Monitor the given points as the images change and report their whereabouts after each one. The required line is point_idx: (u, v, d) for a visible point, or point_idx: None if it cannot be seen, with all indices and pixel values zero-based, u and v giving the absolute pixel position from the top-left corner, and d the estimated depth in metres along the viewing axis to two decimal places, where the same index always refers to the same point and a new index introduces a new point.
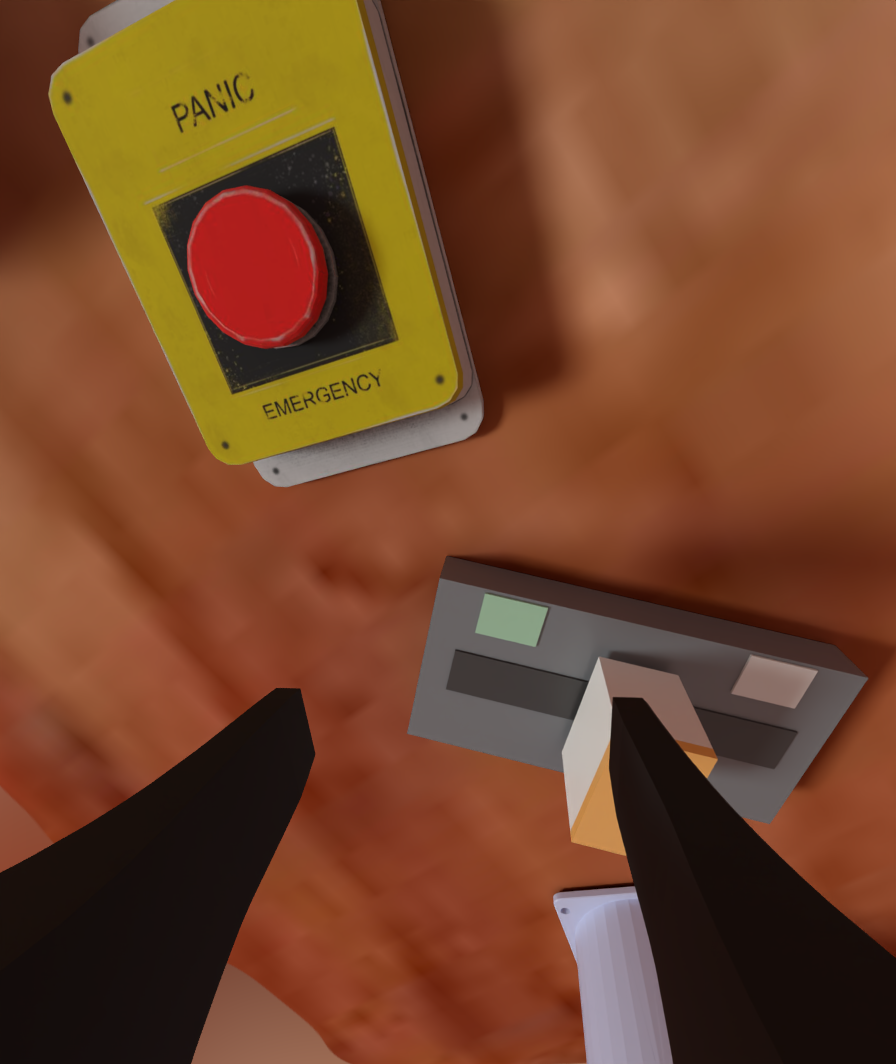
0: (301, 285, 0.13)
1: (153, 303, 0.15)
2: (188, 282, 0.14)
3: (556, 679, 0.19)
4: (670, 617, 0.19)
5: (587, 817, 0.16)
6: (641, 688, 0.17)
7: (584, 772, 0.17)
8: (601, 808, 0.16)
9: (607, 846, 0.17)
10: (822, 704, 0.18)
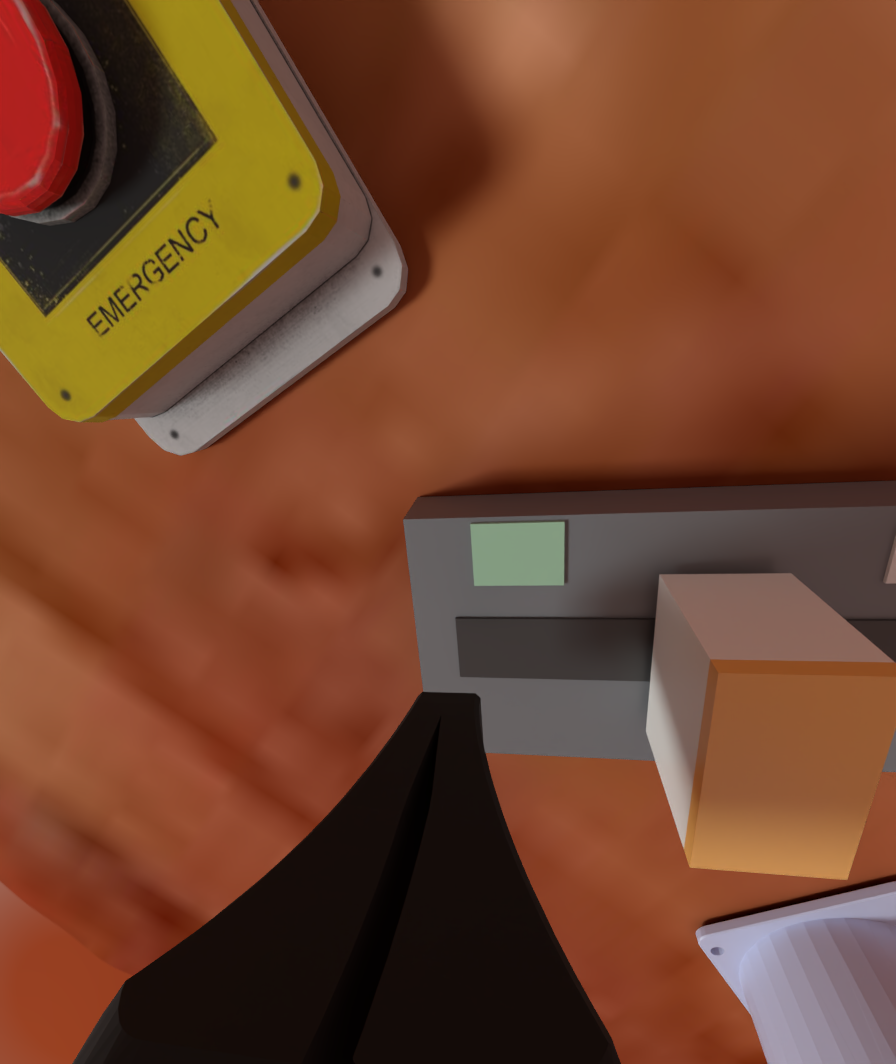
0: (30, 74, 0.08)
1: None
2: None
3: (609, 626, 0.13)
4: (754, 495, 0.13)
5: (704, 823, 0.10)
6: (737, 600, 0.11)
7: (681, 751, 0.11)
8: (723, 804, 0.10)
9: (751, 865, 0.10)
10: None
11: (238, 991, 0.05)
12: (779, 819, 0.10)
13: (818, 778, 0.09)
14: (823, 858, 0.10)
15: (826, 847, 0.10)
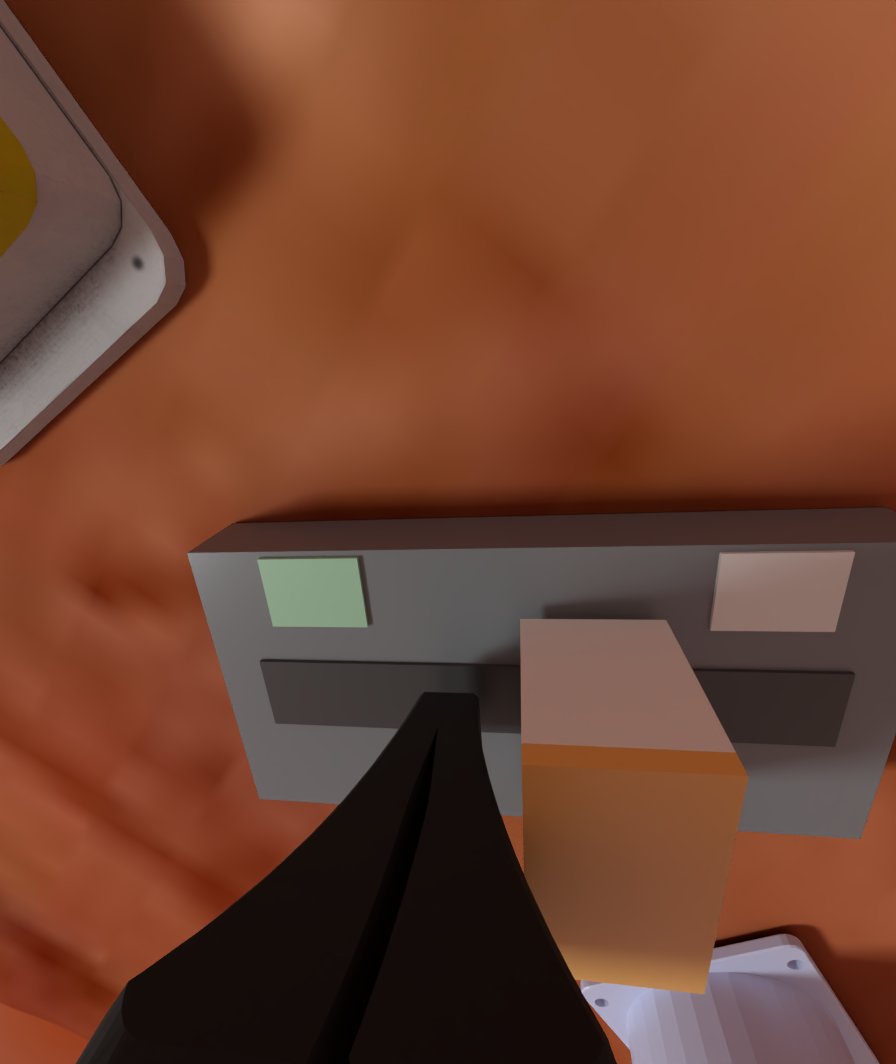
0: None
1: None
2: None
3: (424, 672, 0.12)
4: (576, 527, 0.11)
5: None
6: (590, 657, 0.09)
7: None
8: (552, 909, 0.08)
9: (594, 974, 0.08)
10: (885, 612, 0.10)
11: (240, 992, 0.05)
12: (618, 927, 0.08)
13: (655, 885, 0.07)
14: (674, 971, 0.08)
15: (675, 959, 0.08)
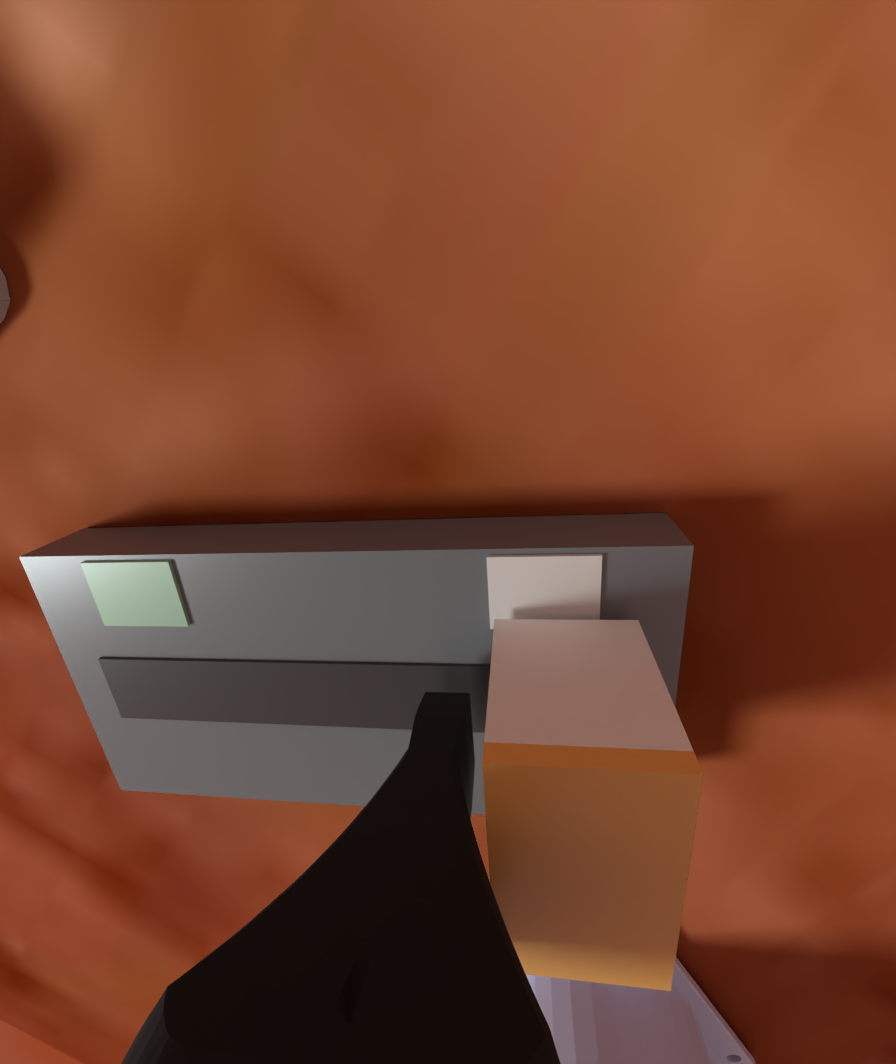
0: None
1: None
2: None
3: (247, 668, 0.13)
4: (379, 532, 0.12)
5: None
6: (560, 657, 0.09)
7: None
8: (518, 906, 0.08)
9: (562, 971, 0.09)
10: (642, 611, 0.10)
11: (282, 998, 0.05)
12: (583, 924, 0.08)
13: (618, 882, 0.08)
14: (639, 967, 0.08)
15: (641, 956, 0.08)
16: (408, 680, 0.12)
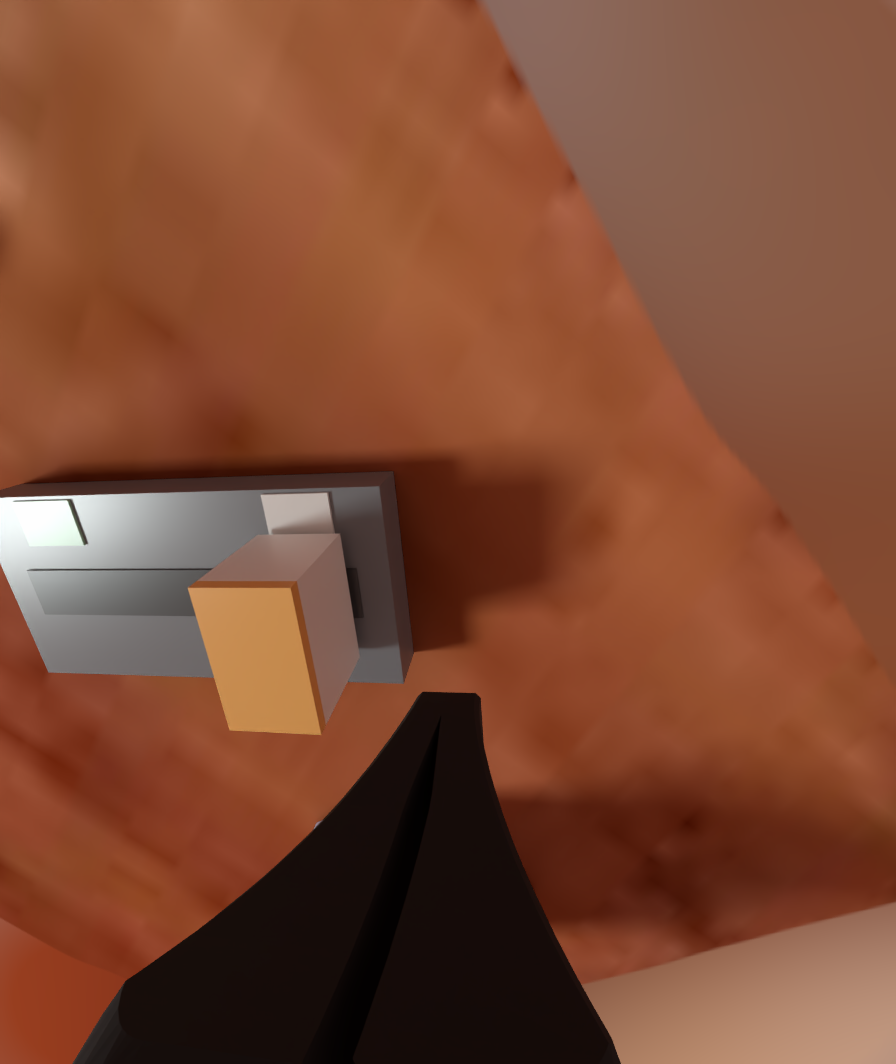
0: None
1: None
2: None
3: (125, 575, 0.19)
4: (208, 483, 0.18)
5: (223, 696, 0.15)
6: (274, 549, 0.15)
7: None
8: (229, 681, 0.14)
9: (263, 726, 0.15)
10: (359, 530, 0.17)
11: (238, 991, 0.05)
12: (264, 691, 0.14)
13: (272, 660, 0.14)
14: (300, 719, 0.15)
15: (299, 710, 0.14)
16: None
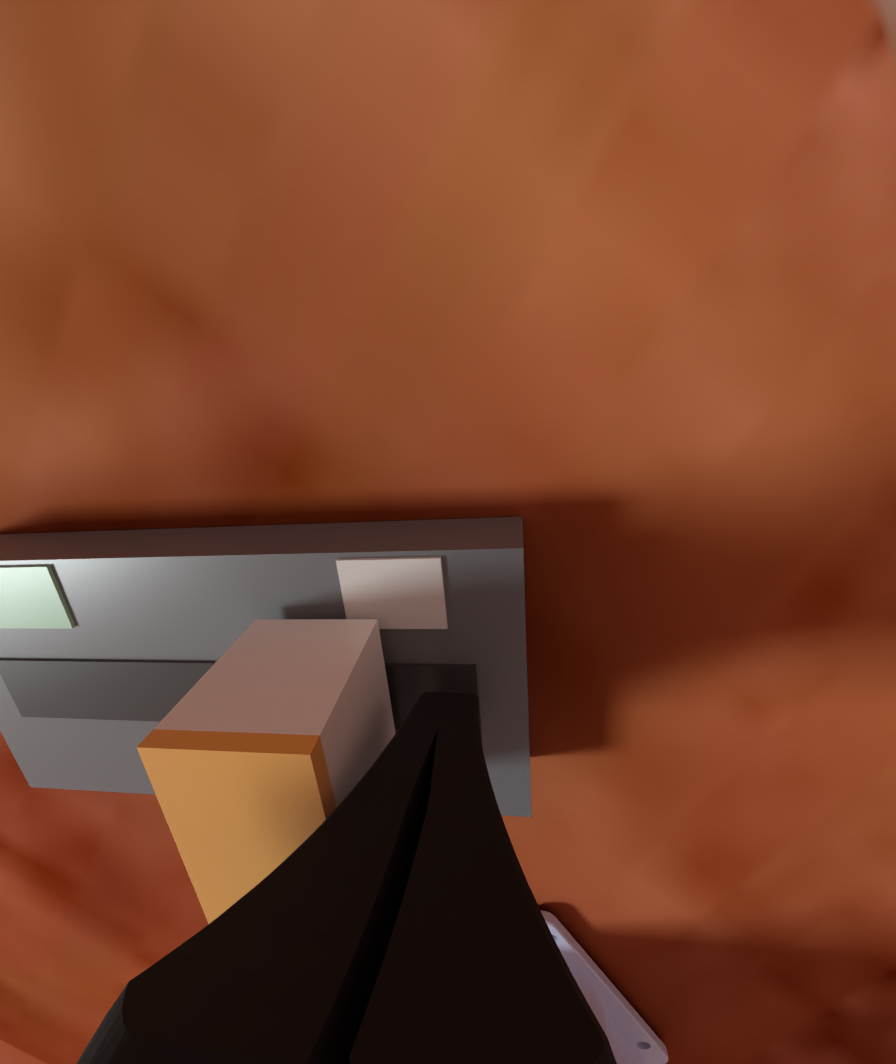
0: None
1: None
2: None
3: (132, 668, 0.13)
4: (251, 537, 0.12)
5: (203, 896, 0.09)
6: (281, 653, 0.10)
7: None
8: (211, 878, 0.09)
9: None
10: (485, 611, 0.11)
11: (241, 992, 0.05)
12: None
13: (280, 854, 0.08)
14: None
15: None
16: None
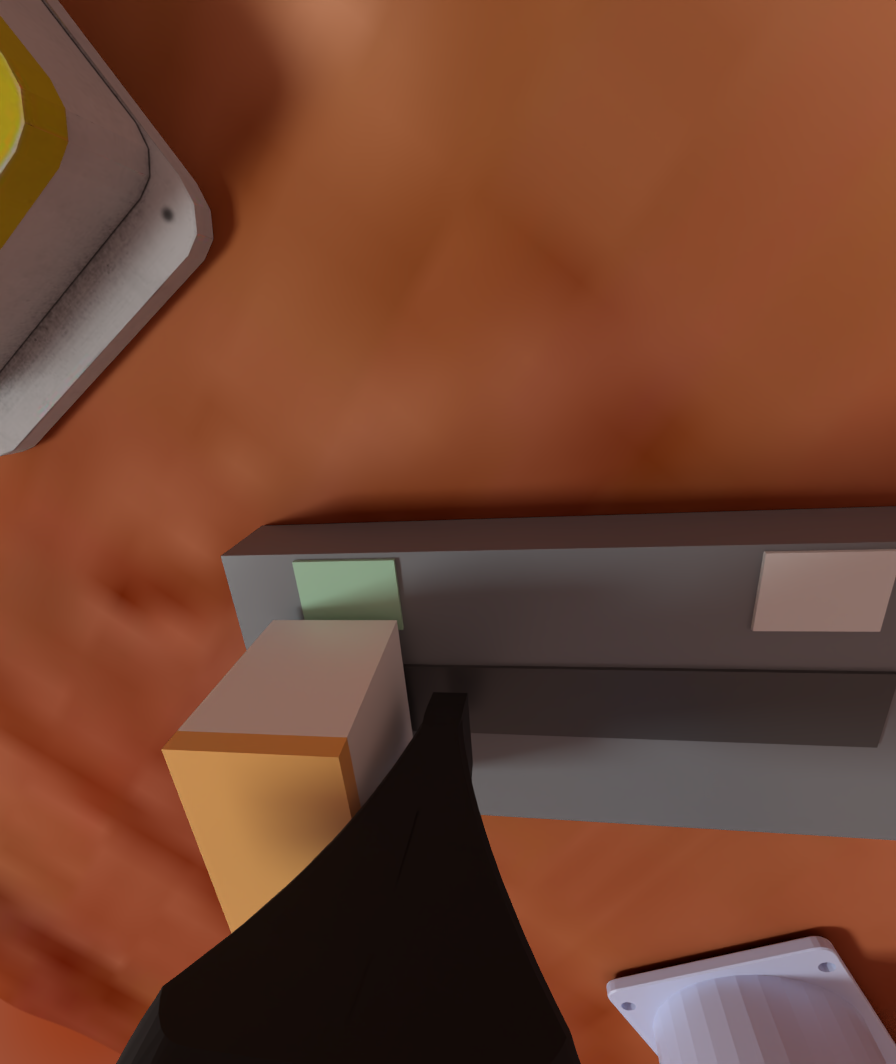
0: None
1: None
2: None
3: (459, 674, 0.12)
4: (613, 527, 0.11)
5: (225, 899, 0.09)
6: (301, 654, 0.10)
7: None
8: (233, 881, 0.09)
9: None
10: None
11: (278, 997, 0.05)
12: None
13: (305, 857, 0.08)
14: None
15: None
16: (644, 686, 0.11)
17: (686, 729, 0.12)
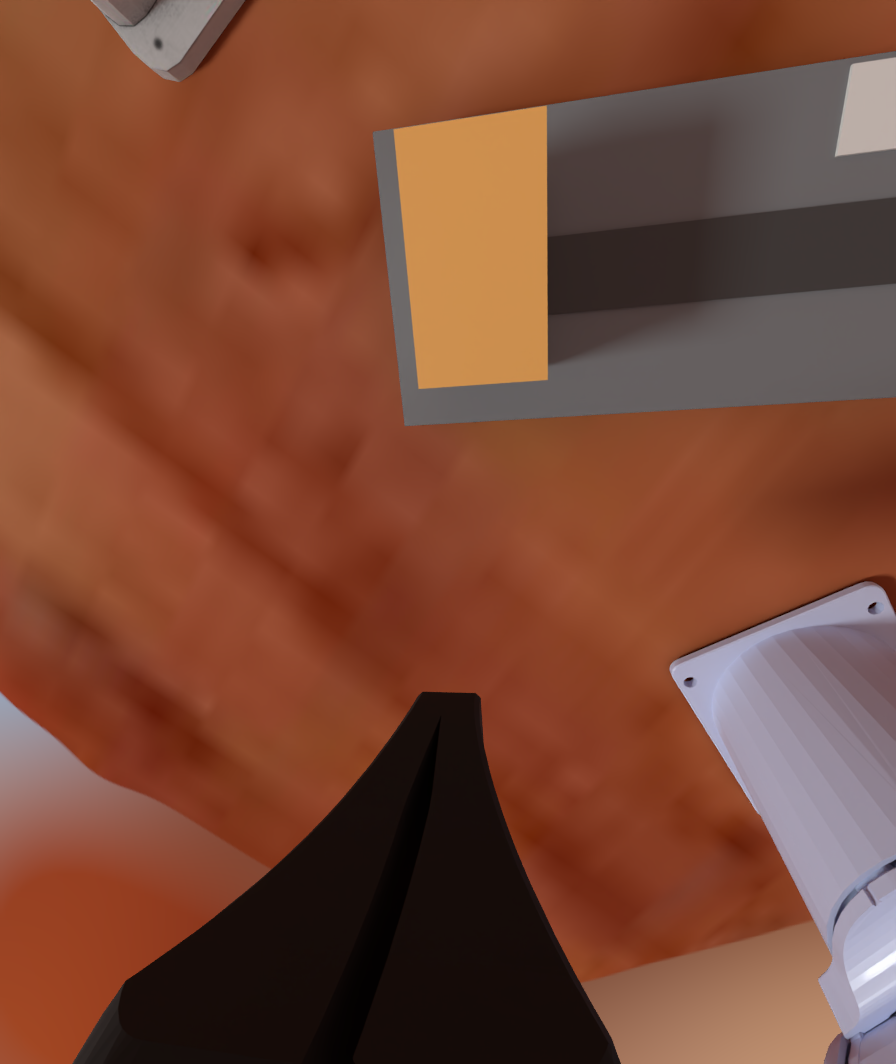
0: None
1: None
2: None
3: (573, 246, 0.14)
4: None
5: (418, 327, 0.11)
6: None
7: None
8: (429, 300, 0.11)
9: (467, 375, 0.11)
10: None
11: (238, 991, 0.05)
12: (478, 310, 0.11)
13: (499, 250, 0.10)
14: (523, 354, 0.11)
15: (522, 340, 0.11)
16: (738, 233, 0.13)
17: (771, 284, 0.13)
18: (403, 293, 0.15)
